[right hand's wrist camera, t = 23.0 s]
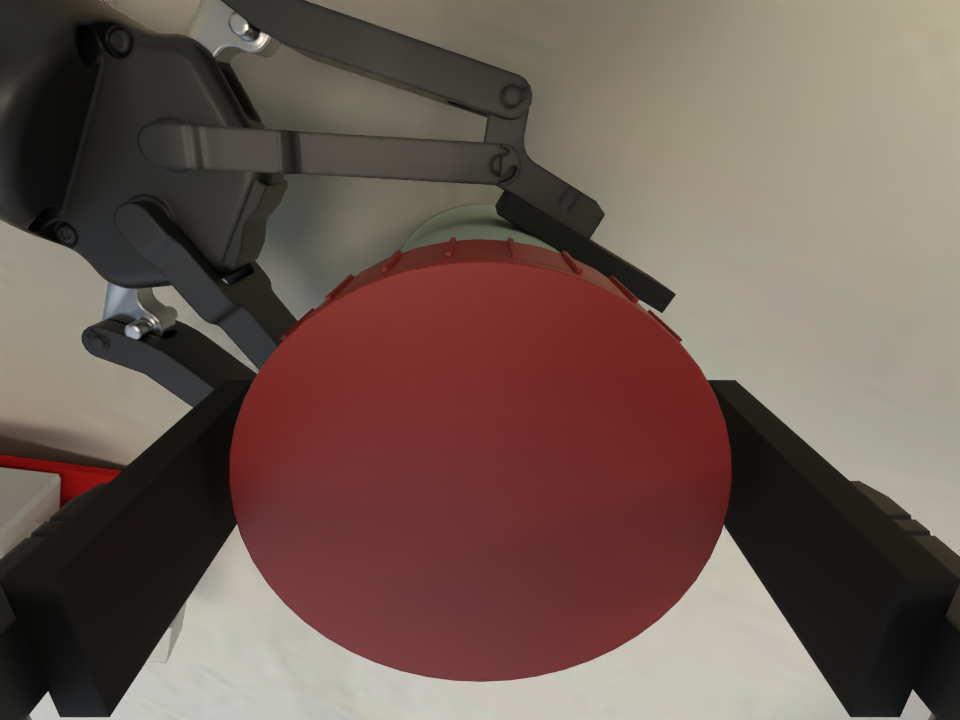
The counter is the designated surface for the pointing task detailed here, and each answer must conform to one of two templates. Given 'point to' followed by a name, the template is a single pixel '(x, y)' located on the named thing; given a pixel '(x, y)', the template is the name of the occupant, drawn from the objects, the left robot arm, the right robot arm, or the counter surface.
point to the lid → (480, 464)
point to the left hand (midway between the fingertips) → (581, 398)
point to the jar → (469, 228)
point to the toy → (54, 510)
